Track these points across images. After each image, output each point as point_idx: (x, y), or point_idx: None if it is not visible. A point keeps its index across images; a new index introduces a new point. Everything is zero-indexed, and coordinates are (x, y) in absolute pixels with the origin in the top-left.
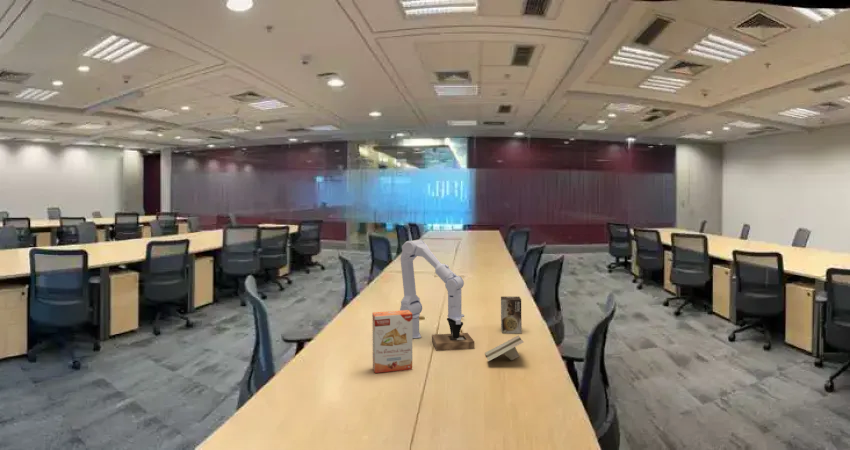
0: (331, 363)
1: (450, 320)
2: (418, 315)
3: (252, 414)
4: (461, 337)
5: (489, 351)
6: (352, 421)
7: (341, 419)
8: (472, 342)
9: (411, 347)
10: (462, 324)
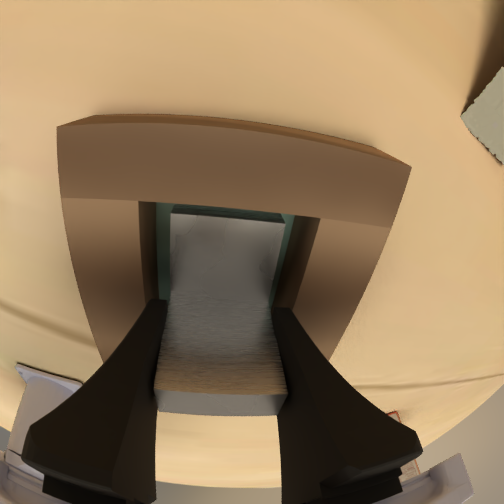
0: (269, 476)
1: (149, 489)
2: (31, 468)
3: None
4: (179, 230)
5: (497, 117)
6: (454, 419)
7: (443, 427)
8: (400, 185)
9: (415, 462)
10: (414, 438)
